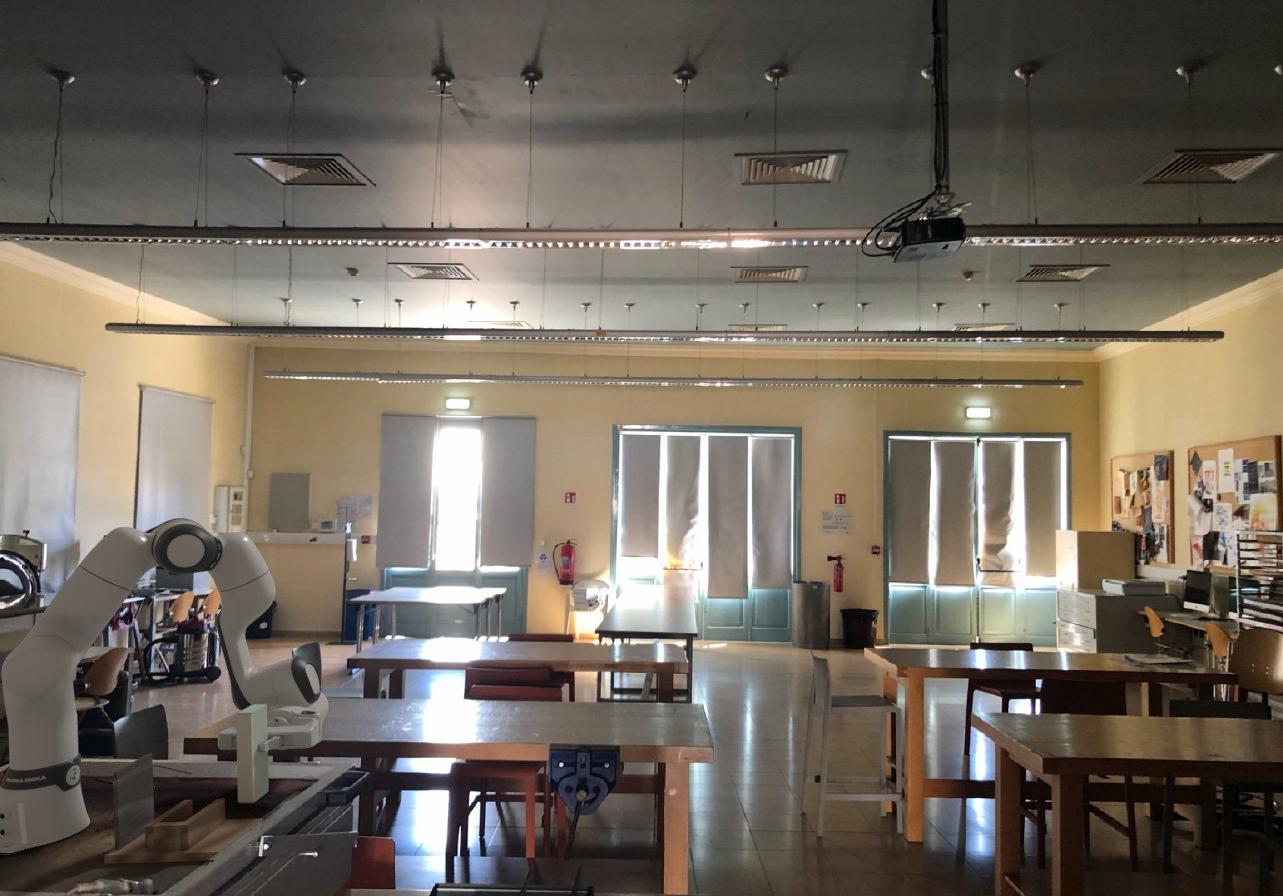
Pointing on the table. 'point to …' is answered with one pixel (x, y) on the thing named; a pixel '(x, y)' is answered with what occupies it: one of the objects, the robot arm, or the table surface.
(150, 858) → the stand
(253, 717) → the pale green flat block
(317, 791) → the table surface
